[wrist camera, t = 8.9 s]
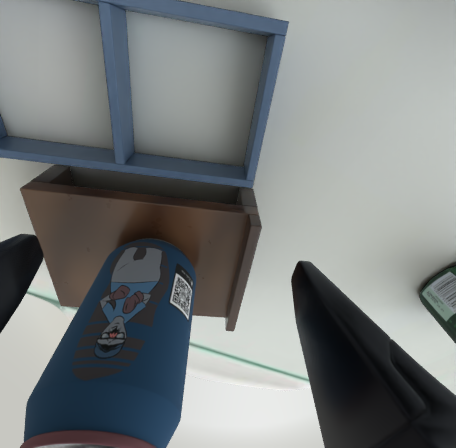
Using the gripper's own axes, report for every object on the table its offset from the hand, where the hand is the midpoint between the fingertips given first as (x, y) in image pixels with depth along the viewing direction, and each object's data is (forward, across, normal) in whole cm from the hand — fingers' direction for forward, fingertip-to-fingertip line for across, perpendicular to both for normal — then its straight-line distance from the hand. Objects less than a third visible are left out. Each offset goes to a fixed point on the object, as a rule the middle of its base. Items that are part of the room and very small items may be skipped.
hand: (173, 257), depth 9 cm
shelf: (+12, +3, +9) cm, 16 cm away
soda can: (+8, +3, +9) cm, 12 cm away
